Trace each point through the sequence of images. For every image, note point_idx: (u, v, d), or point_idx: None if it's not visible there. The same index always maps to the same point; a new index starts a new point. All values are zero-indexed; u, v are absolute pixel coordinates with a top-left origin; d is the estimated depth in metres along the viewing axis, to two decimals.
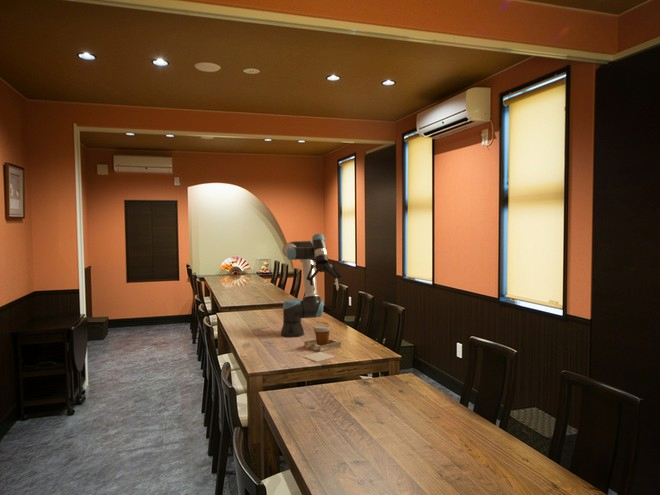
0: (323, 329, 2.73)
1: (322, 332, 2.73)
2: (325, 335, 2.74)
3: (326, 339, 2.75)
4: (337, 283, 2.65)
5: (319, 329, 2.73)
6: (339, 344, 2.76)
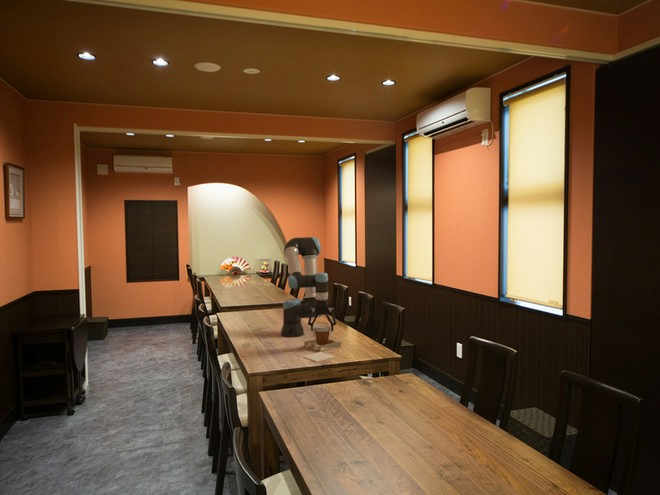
0: (323, 329, 2.73)
1: (322, 332, 2.73)
2: (325, 335, 2.74)
3: (326, 339, 2.75)
4: (330, 332, 2.76)
5: (319, 329, 2.73)
6: (339, 344, 2.76)
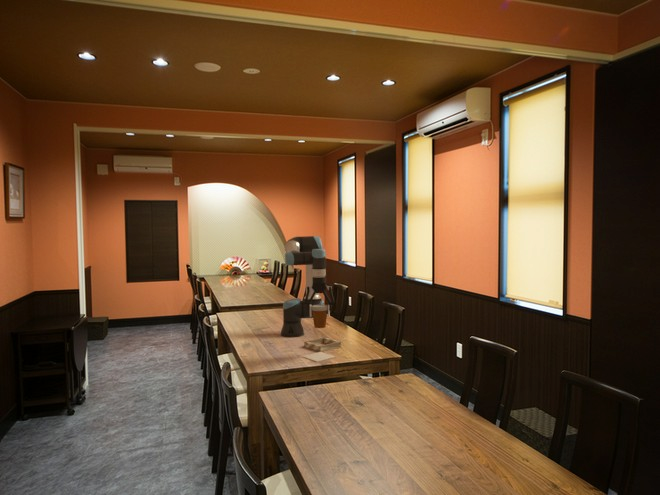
0: (320, 308, 2.58)
1: (320, 311, 2.58)
2: (323, 314, 2.59)
3: (324, 319, 2.60)
4: (328, 311, 2.60)
5: (316, 308, 2.58)
6: (339, 344, 2.76)
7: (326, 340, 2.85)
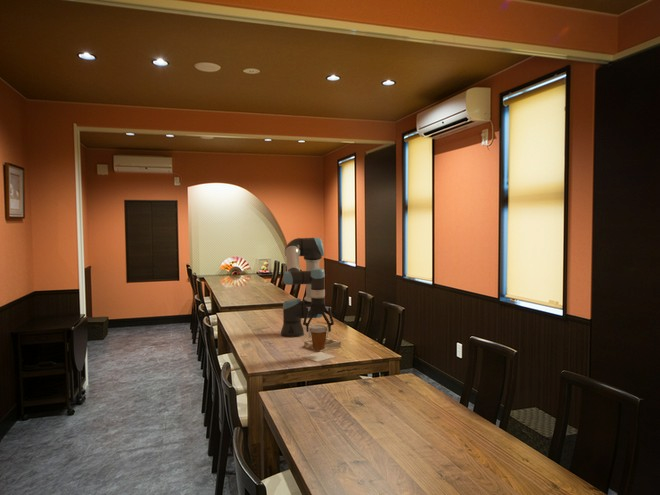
0: (319, 329, 2.52)
1: (319, 333, 2.52)
2: (322, 336, 2.53)
3: (323, 340, 2.54)
4: (327, 333, 2.54)
5: (315, 329, 2.52)
6: (339, 344, 2.76)
7: (326, 340, 2.85)
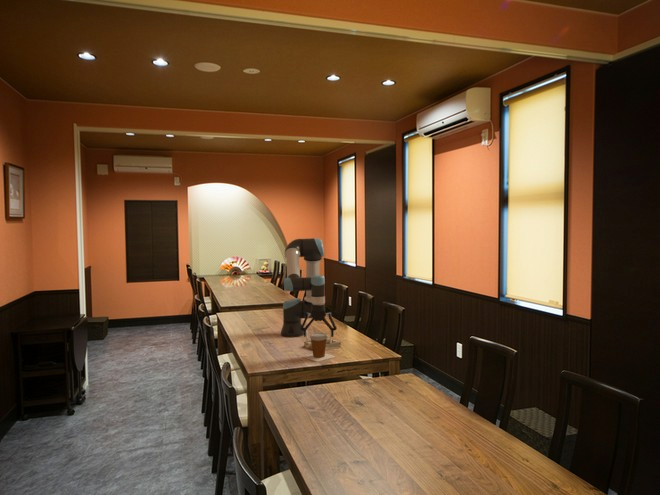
0: (319, 337, 2.52)
1: (319, 341, 2.52)
2: (322, 344, 2.53)
3: (323, 348, 2.54)
4: (330, 338, 2.54)
5: (315, 337, 2.52)
6: (339, 344, 2.76)
7: (326, 340, 2.85)
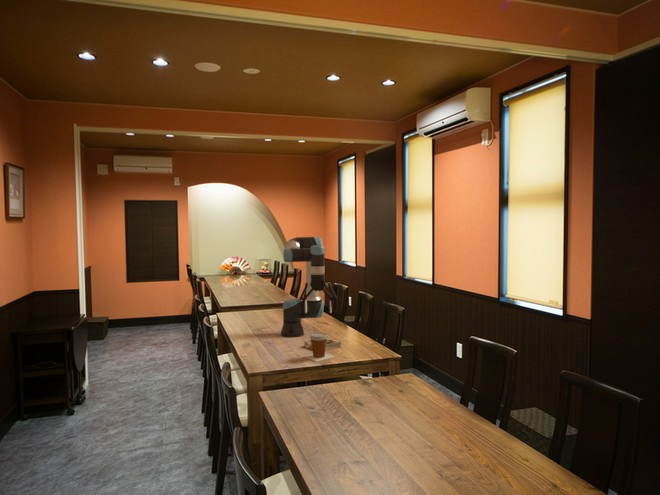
0: (319, 337, 2.52)
1: (319, 341, 2.52)
2: (322, 344, 2.53)
3: (323, 348, 2.54)
4: (330, 307, 2.54)
5: (315, 337, 2.52)
6: (339, 344, 2.76)
7: (326, 340, 2.85)
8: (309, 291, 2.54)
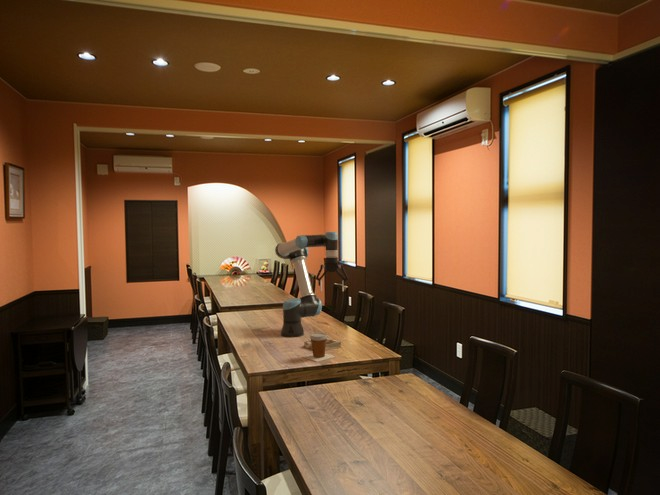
0: (319, 337, 2.52)
1: (319, 341, 2.52)
2: (322, 344, 2.53)
3: (323, 348, 2.54)
4: (342, 286, 2.87)
5: (315, 337, 2.52)
6: (339, 344, 2.76)
7: (326, 340, 2.85)
8: (324, 272, 2.88)
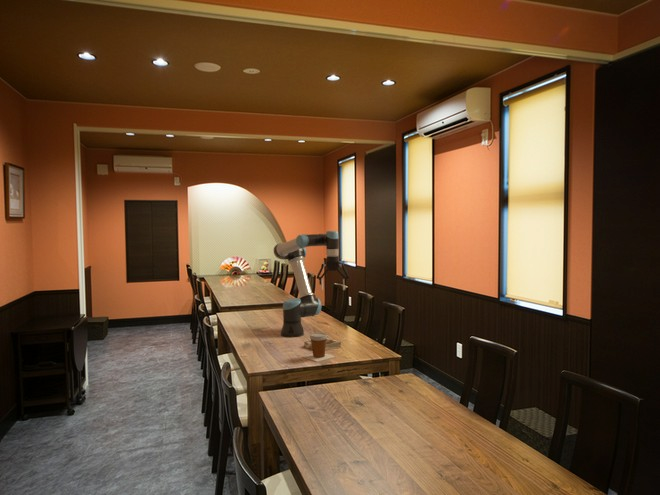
0: (319, 337, 2.52)
1: (319, 341, 2.52)
2: (322, 344, 2.53)
3: (323, 348, 2.54)
4: (343, 285, 2.89)
5: (315, 337, 2.52)
6: (339, 344, 2.76)
7: (326, 340, 2.85)
8: (325, 271, 2.90)
